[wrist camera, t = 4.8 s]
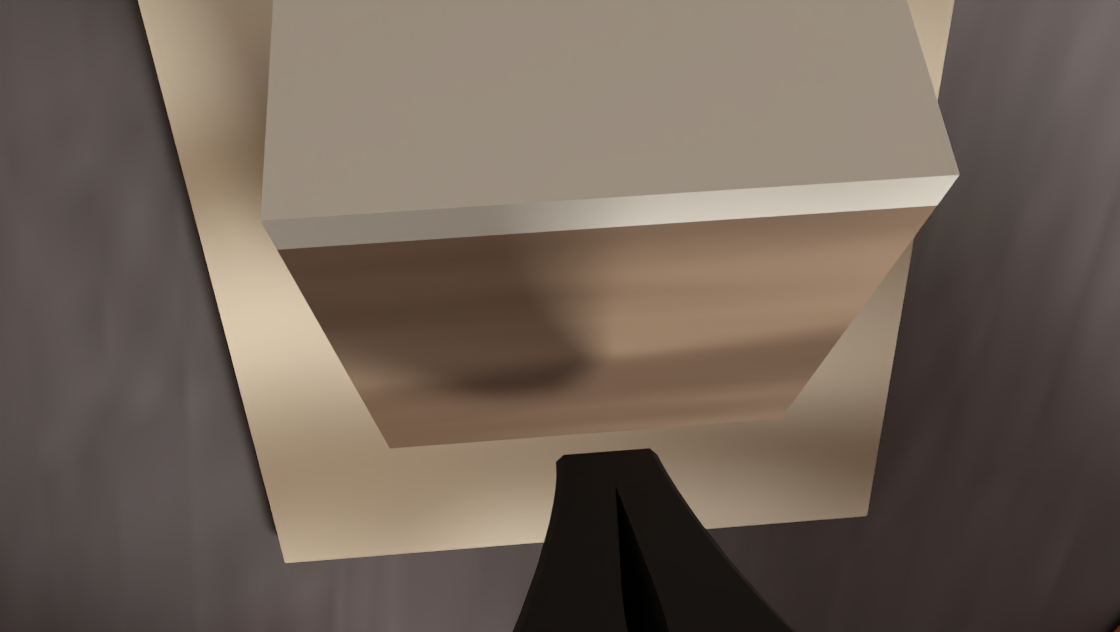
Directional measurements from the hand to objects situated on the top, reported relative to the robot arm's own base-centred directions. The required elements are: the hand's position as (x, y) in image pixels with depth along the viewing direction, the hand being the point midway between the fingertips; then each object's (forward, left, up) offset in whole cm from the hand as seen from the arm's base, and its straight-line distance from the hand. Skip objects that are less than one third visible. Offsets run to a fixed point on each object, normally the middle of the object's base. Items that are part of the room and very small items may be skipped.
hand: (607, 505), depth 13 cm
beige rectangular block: (0, 0, -5) cm, 5 cm away
